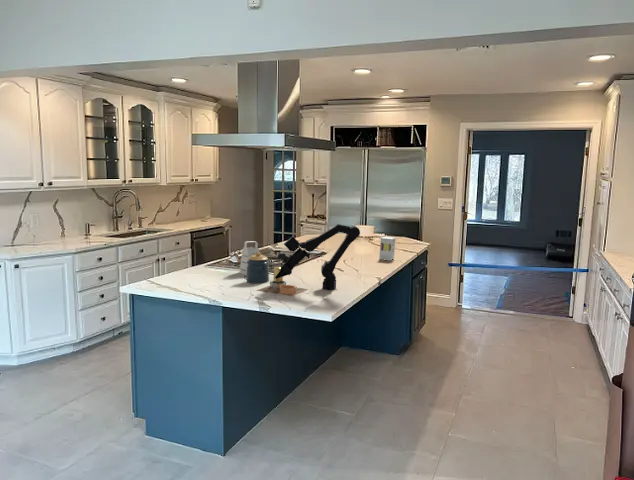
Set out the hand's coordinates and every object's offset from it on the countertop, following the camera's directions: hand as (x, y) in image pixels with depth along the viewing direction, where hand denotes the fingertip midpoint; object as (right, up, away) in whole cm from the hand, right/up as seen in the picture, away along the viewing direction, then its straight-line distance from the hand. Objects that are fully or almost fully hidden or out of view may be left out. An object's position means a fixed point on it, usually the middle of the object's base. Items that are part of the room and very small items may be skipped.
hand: (275, 277), depth 280 cm
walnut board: (+4, -7, -4) cm, 9 cm away
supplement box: (+75, +5, +107) cm, 131 cm away
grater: (-19, -1, +40) cm, 44 cm away
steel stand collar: (+1, -6, +1) cm, 6 cm away
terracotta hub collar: (+7, -7, -10) cm, 14 cm away
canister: (-12, -4, +16) cm, 20 cm away
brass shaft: (+1, -6, +1) cm, 6 cm away
